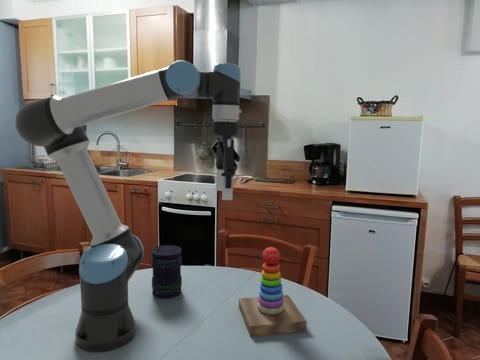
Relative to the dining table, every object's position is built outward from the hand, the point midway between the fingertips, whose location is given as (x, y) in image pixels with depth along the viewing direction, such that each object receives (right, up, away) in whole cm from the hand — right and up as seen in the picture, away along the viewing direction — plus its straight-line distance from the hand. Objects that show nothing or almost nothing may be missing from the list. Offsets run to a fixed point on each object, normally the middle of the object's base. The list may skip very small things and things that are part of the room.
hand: (223, 195), depth 107 cm
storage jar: (-20, -34, +17) cm, 43 cm away
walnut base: (+14, -37, +2) cm, 39 cm away
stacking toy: (+14, -34, +1) cm, 37 cm away
